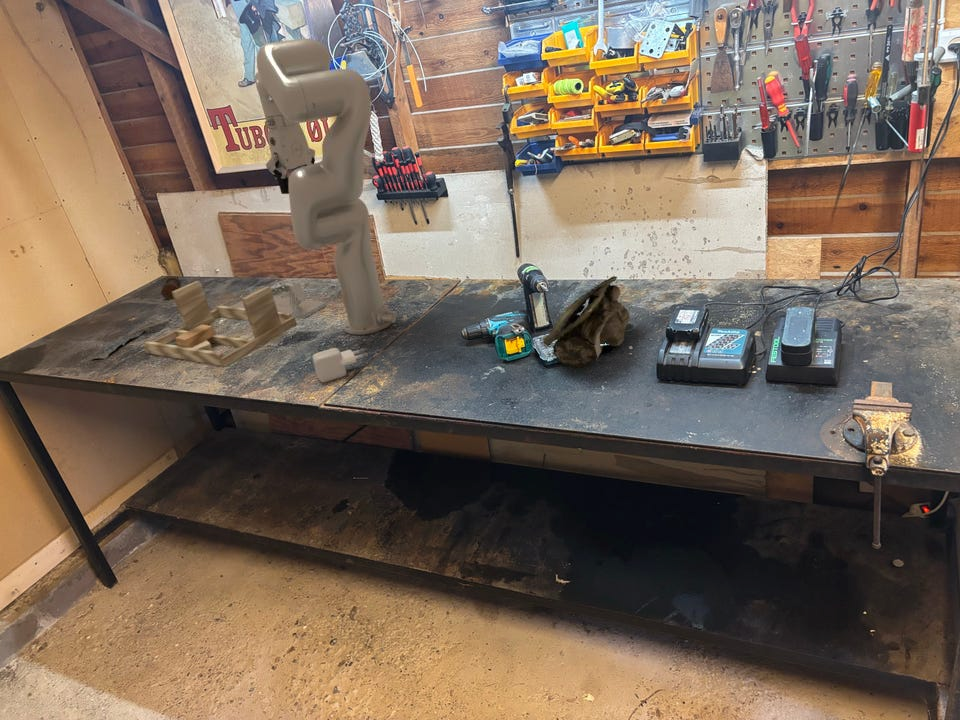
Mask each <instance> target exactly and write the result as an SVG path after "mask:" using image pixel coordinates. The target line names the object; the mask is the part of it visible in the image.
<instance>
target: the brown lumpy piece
mask: <svg viewBox="0 0 960 720" xmlns="http://www.w3.org/2000/svg"><path fill="white" fill-rule="evenodd" d="M181 284H182V280H180V279H179V277H177V276H175V275H174V276H169V277H166V280H165V282H164V284H162V286H161V291H160V295H161V296H162V297H164V299H166V300H167V301H171V300H174V297H173V294H172V291H175V290H177V289H179V288H181Z"/></svg>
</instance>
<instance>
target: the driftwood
mask: <svg viewBox="0 0 960 720" xmlns="http://www.w3.org/2000/svg"><path fill="white" fill-rule="evenodd" d="M142 328H143V326H142V325H140V324H135V325H134V328H133V329H132V330H129V331H128V332H127V333H125V334H124V335H122V336H119V337H117V338H115V339H114V340H113V341H112V342H110V343H108V345H106V346H104V347H102V348H101V349H100V350H99V351H97V352H96V356H95V357H93V358H92V359H91V361H93V360H95V359H107V358H108V357H109V355H110V354H111V353H112V352H114V351H116V349H118V347H120V346H121V345H122V346H123V347H124V346H125V344H126V343H127V342H128V341H130V340H131V339H134V338H137V337H140V336H141V335H142V334H143V333H144V332H145V333H146V332H147V330H149V329H150V327H148V328H146V330H144V331H143V330H142V331H140V329H142ZM137 331H140V333H138V334H136V335H134V336H132V337H130V338H127V339H125V338H126V337H127V336H130V335H132V334H134V333H135V332H137Z"/></svg>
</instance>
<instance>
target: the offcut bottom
mask: <svg viewBox="0 0 960 720" xmlns="http://www.w3.org/2000/svg"><path fill="white" fill-rule="evenodd" d="M192 348H195V349H201V350H208V351H214V350H213V347H212V343H209V342H208V341H207V340H205V341H203V342H201V343H199V344H198V345H196V346H194V347H192Z"/></svg>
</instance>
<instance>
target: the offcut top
mask: <svg viewBox="0 0 960 720" xmlns="http://www.w3.org/2000/svg"><path fill="white" fill-rule="evenodd" d="M215 335H216V333H215V330H214V327H213V325H203V324H202V325H200V326H198V327H196V328H194V329H192V330H190V331H188V332H186V333H184V334H182V335H180V336H178V337H176V338H175V341H176V345H177V346H182V347H189V348H192V347H194V346H196V345H198V344H199V343H201V342H203V341H205V340H207V339H209V338H211V337H213V336H215Z"/></svg>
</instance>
